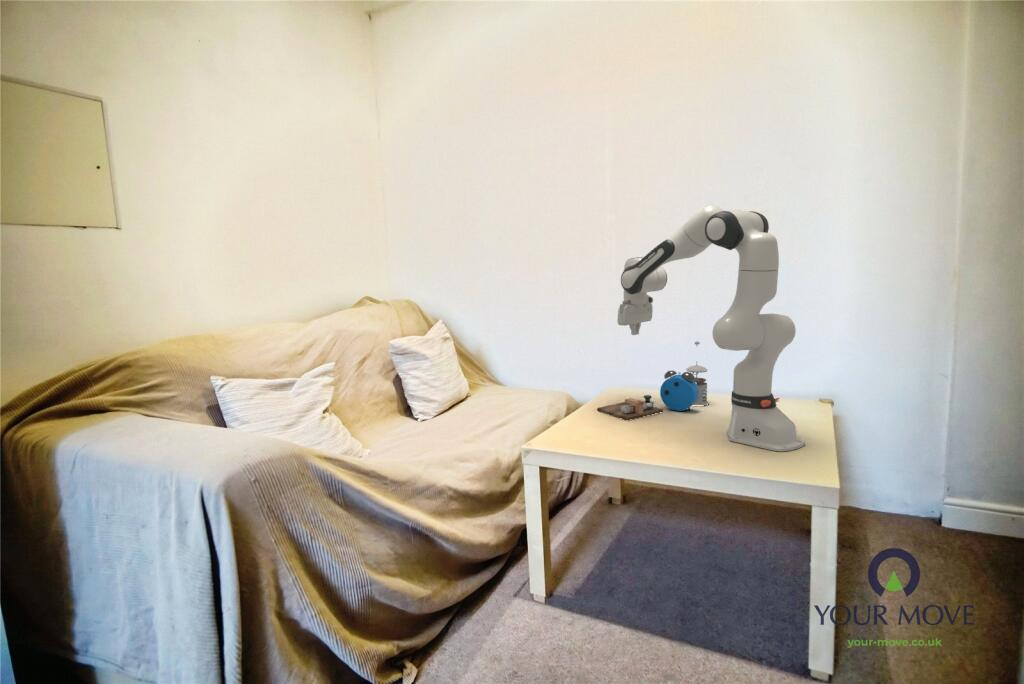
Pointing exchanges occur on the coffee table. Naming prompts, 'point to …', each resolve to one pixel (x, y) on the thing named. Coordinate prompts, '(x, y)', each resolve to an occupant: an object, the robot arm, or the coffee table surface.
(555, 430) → the coffee table surface
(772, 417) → the robot arm
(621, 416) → the pivot board
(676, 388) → the alarm clock
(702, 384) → the french press
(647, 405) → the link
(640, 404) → the keeper
